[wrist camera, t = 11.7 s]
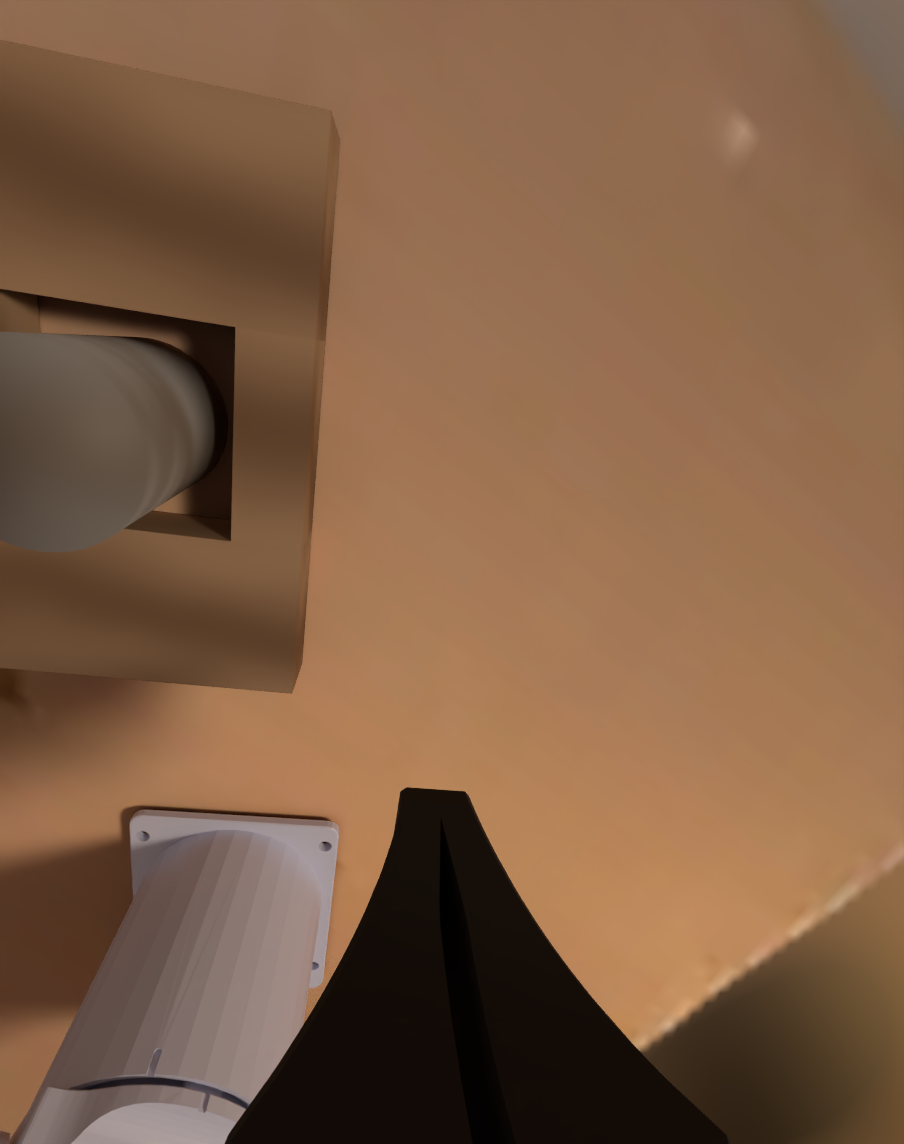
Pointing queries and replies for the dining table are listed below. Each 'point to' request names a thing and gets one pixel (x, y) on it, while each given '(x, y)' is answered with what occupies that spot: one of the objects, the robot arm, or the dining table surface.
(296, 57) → the dining table surface
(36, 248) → the walnut jig
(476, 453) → the dining table surface
